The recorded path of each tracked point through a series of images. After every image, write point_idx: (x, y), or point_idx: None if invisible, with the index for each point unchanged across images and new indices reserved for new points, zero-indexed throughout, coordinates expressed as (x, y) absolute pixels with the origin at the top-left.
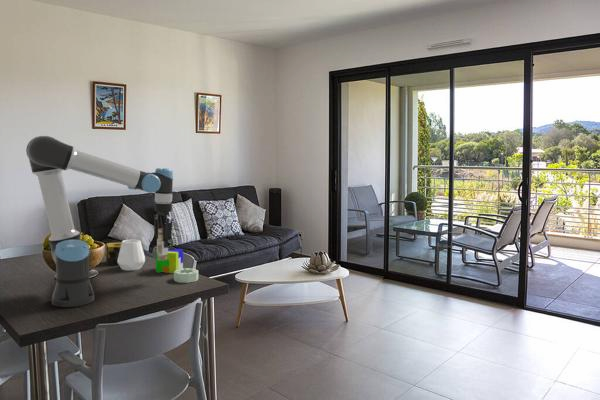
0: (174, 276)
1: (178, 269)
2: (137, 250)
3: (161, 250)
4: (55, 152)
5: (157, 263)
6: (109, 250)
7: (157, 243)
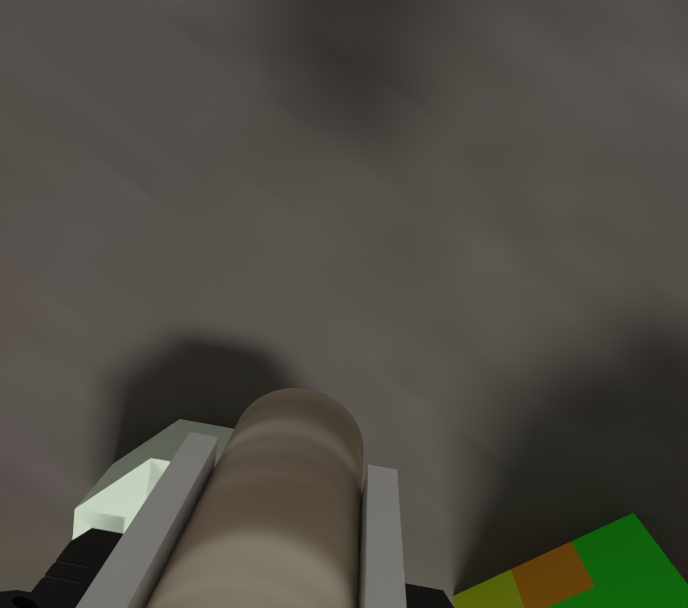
0: None
1: None
2: None
3: (213, 482)
4: None
5: (662, 578)
6: None
7: (373, 589)
